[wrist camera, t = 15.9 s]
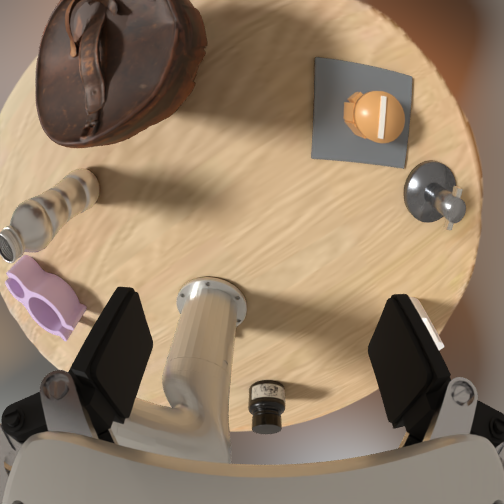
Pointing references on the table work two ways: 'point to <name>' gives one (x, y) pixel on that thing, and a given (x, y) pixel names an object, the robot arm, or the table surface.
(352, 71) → the mat
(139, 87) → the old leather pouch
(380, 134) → the orange ellipsoid with prongs
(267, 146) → the table surface
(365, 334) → the table surface
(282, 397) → the ink bottle
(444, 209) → the grey post on disc
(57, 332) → the clip
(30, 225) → the plastic bottle
